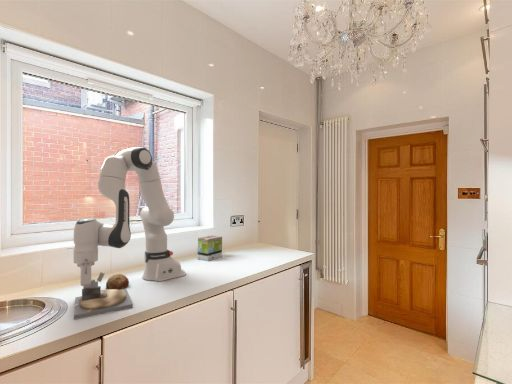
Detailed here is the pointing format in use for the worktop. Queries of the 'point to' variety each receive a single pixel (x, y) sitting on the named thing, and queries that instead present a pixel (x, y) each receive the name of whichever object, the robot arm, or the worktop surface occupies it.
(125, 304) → the dial plate
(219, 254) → the tea box
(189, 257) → the worktop surface
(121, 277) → the bread roll
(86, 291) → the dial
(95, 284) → the lighter
